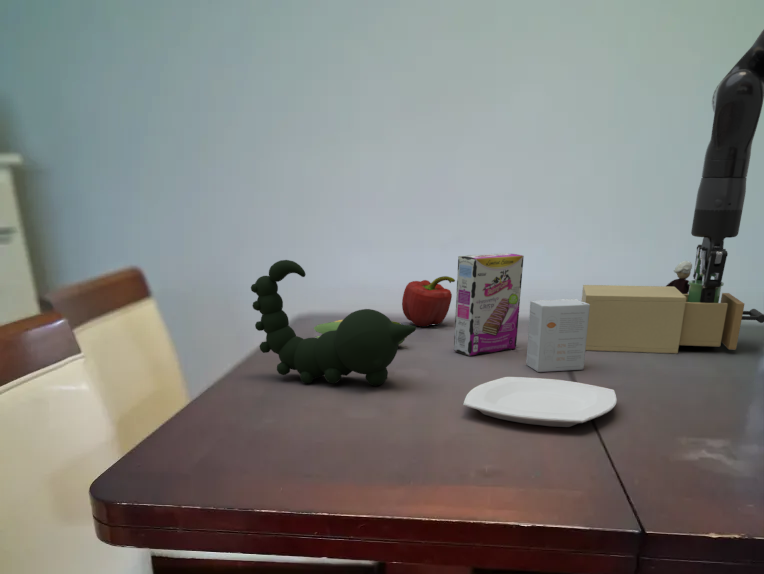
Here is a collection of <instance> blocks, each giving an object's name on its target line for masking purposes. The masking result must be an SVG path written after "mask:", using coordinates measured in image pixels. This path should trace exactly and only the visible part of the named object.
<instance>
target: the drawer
mask: <svg viewBox="0 0 764 574" xmlns="http://www.w3.org/2000/svg"><path fill="white" fill-rule="evenodd" d="M683 295H684V296H685V297H686V303H685V310H684V316H683V323H682V329H681V335H680V342H679V346H693V347H719V348H720V347H721V344H723V346H725V348H727V349H728V350H737V346H738V341H739V335H740V331H741V324H742V321H757V322H758V323H760V324H764V313H762V312H761V311H759V310H758V309H756V308H751V309H750V310H744V309H745V303H744V302H743V301H741V300H739V298H737V297H735V296H734V295H732V294H731V293H729V292H722V293H721V297H720V301H719V303H697V302H687V299H688V294H683Z"/></svg>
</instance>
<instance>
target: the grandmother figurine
mask: <svg viewBox="0 0 764 574" xmlns="http://www.w3.org/2000/svg"><path fill="white" fill-rule="evenodd" d="M692 269H693V263H692V262H691V261H688V260H683V261H681V262H680V263H678V264H677V265H676V267H675V268H674V270H673V272H674V274H676V276H677V278H676V279H673V280H671V281H670V282H668V283H667V284H666V285H665V286H670V287H675V288H677V289H678V290H679V291H680V292H681V293H682V294H688V293H689V287H690V285H689V284H688V282H689V281H690V280H688V278H689V277H690V275H691V271H692Z"/></svg>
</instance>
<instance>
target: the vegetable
mask: <svg viewBox="0 0 764 574" xmlns="http://www.w3.org/2000/svg"><path fill="white" fill-rule="evenodd" d="M444 281H448V282H449V284H452V283H455V282H456V280H455V278H454V277H451V276H447V275H444V276H439V277H437V278H435V279H434V280H433V281H429V280H427V279H423V280H420V281H419V280H412V281H410V282H408V283H407V284H406V286H405V288H404V291H403V293H402V298H401V299H402V301H401V307H402V308H401V309H402V312H403V315H404V316H405V318H406V320H408V321H410V322H411V323H412V324H413V325H414V326H416V327H421V326H427V327H429V326H431V325H430V324H438V325H439V324H441V323H443V321H444V320H445V318H446V317H447V315H448V313H449V309H450V306H451V302H452V297H453V294H452V291H451V290H450V289H449V288H444V287H443V285H442V284H440V283H441V282H444ZM428 325H429V326H428Z"/></svg>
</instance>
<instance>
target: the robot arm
mask: <svg viewBox="0 0 764 574" xmlns="http://www.w3.org/2000/svg"><path fill="white" fill-rule="evenodd" d="M763 104H764V29H763V30H762V31H761V32H760V34H759V35H758V37H757V38H756V39H755V40H754V42H753V44H752V45H751V47H750V48H749V49H748V50H747V51H746V52H745V53H744V55H742V56H741V58H739V60H738V61H737V62H736V63H735V64H734V65H733V67H732V68H731V69H730V70H729V71H728V72H727V74H726V75H725V76H724V77H723V78H722V80H721V81H719V83H718V85H717V86H716V87H715V88H714V92H713V93H712V98H711V109H712V112H713V114H714V115H713V120H712V128H711V135H710V140H709V142H708V144H707V146H706V150H705V153H704V159H703V166H702V172H701V179H700V182H699V185H698V189H697V194H696V200H695V205H694V212H693V218H692V224H691V231H690V234H691V235H692V236H693V237H697V238H702V242H701V244H697V246H696V253H695V263H694V270H693V274H692V277H693V280H702V285H701V287H702V290H701V296H700V302H699V303H714V298H715V292H716V290H717V288H718V287H720V285H721V282H723V281H722V280H723V275H724V271H725V266H726V262H727V257H728V254H729V253H728V251H727V249H726V248H724V244H725V239H726V238H727V239H729V238H736V237H738V235H739V231H740V225H741V221H742V215H743V211H744V210H743V209H744V206H745V205H744V204H745V198H746V192H747V180H748V179H747V178H748V173H749V166H750V160H751V155H752V147H753V142H754V137H755V134H756V131H757V128H758V125H759V121H760V117H761V113H762V109H763V106H764V105H763ZM712 277H713V279H712ZM715 289H716V290H715Z"/></svg>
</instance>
